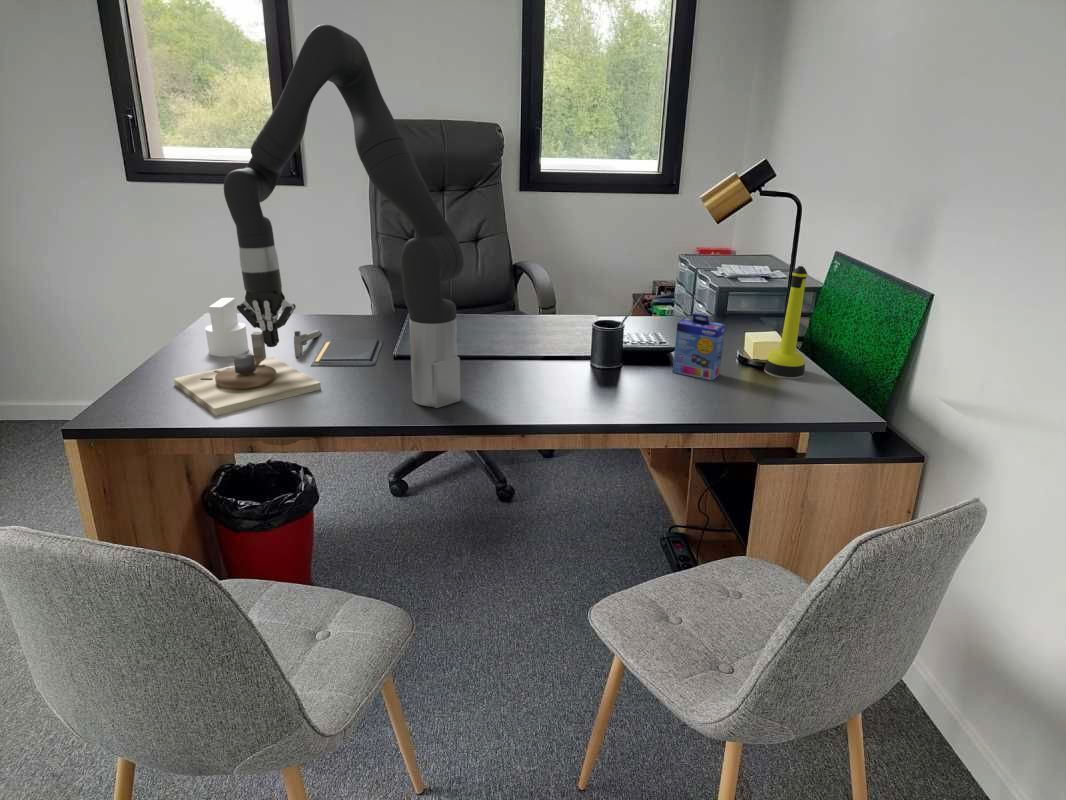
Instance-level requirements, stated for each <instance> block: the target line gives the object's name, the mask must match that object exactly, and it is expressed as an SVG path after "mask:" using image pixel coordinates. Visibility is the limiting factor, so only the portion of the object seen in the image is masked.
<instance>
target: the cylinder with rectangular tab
mask: <svg viewBox="0 0 1066 800" xmlns="http://www.w3.org/2000/svg"><path fill="white" fill-rule="evenodd" d="M208 309H209V316H210V323H211V324H210V325H207V326H205V329H204V330H205V337H206V341H207V342H206V343H207V348H208V350H207V351H208V354H209V355H211V356H213V357H223V358H224V357H235V356H237V355H241V354H246V353H247V352H249V342H248V334H247V327H246V323H243V322H240V321H239V319H238V313H237V311H238V310H237V305H236V298H235V297H221V298H220V299H218V300H217V301H216V302H214V303H212V304H211V305H210V306H208Z"/></svg>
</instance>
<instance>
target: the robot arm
mask: <svg viewBox="0 0 1066 800" xmlns="http://www.w3.org/2000/svg"><path fill="white" fill-rule="evenodd" d="M327 82H331V83H332V84H334V86H335V87H336V88H337V90H338V91H339V93H340V94H341V96H342V98H343V100H344V101H345V102H344V103H345V104H346V106H347V107H348V110H349V112H350V115H351V118H352V123H353V132H354V141H355V148H356V151H357V152H356V153H357V154H358V157H359V159H360V162H361V163H362V166H363V167H364V170H365V171H366V174H367V176H368V178H369V180H370V182H371V184H373V186H374V187H375V189H376V190H377V192H379V193H380V194H381V195H382V196H383V197H384V198H385V199H387V200H388V201H389V203H391V204H392V205H393V206H394V207H395V208H396V209H397V210H398V211H400V213H402V215H404V217H405V218H406V220H407V221H408V222H409V223H410V224H411V227H412V229H413V231H414V232H415V235H416V236H415V237H412V238H410V239H409V240H407V241H406V242H405V243H404V245H403V248H402V251H401V255H400V256H401V257H400V267H401V278H402V289H403V291H402V292H403V298H404V302H405V306H406V307H407V310H408V318H409V319H408V320H409V346H410V347H409V349H410V368H411V369H410V371H411V373H410V374H411V387H412V388H411V392H412V401H413V402H414V403H415V404H417V405H419V406H425V407H432V408H435V409H438V408H442V407H445V406H449V405H452V404H455V403H458V402H461V362H460V361H461V358H460V357H459V356H458V349H457V348H458V347H457V346H458V344H457V342H458V341H457V339H458V337H457V307H456V304H455V303H454V301H452V300H449V299H446V298H443V294H442V285H441V283H443V282H446V281H447V282H448V281H450V280H454V279H456V278H457V277H458V276H460V275H461V274H462V272H463V269H464V263H465V260H464V253H463V250H462V247H461V245H460V242H459V240H458V238H457V237H456V235H455V233H454V232H453V230H452V229H451V227H450V225H449V223H448V222H447V219H445V217H444V216H443V214H442V213H441V211H440V209H439V208H438V207H439V206H438V205H437V204H436V202H435V200H434V198H433V196H432V195H431V194H432V193H431V192H430V189H428V186H427V184H426V182H425V180H424V179H423V177H422V175H421V173H420V171H419V168H418V166H417V164H416V161H415V159H414V157H413V155H412V153H411V150H410V148H409V146H408V144H407V142H406V140H405V138H404V136H403V135H402V133H401V131H400V129H399V127H398V124H397V122H396V121H395V119H394V117H393V115H392V113H391V111H390V109H389V106H388V105H387V103H386V100H384V97H383V95H382V93H381V90H380V88H379V85H378V83H377V80H376V76H375V73H374V71H373V69H372V66H371V63H370V60H369V57H368V55H367V52H366V51H365V48H364V47H363V45H362V44H361V42H359V40H358V39H357V38H355V37H354V36H352V35H351V34H350V33H347V32H345V31H344V30H342V29H340V28H338V27H336V26H334V25H331V24H325V23H323V24H320V25H317V26H315V27H314V28H312V30H311V31H310V32H309V33H308V34H307V36H306V37H305V40H304V41H303V44H302V46H301V48H300V50H299V53H298V56H297V57H296V59H295V62H294V65H293V67H292V70H291V72H290V74H289V75H288V78H287V81H286V83H285V85H284V89H283V90H282V93H281V94H280V97H279V99H278V101H277V104H276V105H275V108H273V110H272V112H271V114H270V116H269V118H268V119H267V121H266V122H265V124H264V125H263V127H262V129H261V130H260V132H259V133H258V134H257V136H256V138H255V140H254V141H253V143H252V145H251V148H250V154H251V158H250V160H249V162H248V163H247V165H246V166H245V167H244V168H238V169H234V170H232V171H230V172H228V174H227V175H226V176H225V177H224V182H223V194H224V199H225V202H226V205H227V208H228V210H229V213H230V216H231V219H232V220H233V222H234V224H235V227H236V235H237V242H238V243H237V244H238V249H239V250H238V251H239V263H240V264H239V266H240V270H241V275H242V282H243V287H244V290H245V295H244V300H243V301H242V302H241V303H239V304H238V305H236V310H237V311H238V312H239V313H240V314H241V315H242V317H244V319H245V320H247V322H248V323H249V324H250V325H251V326H252V327H253V329H256V328H258V329H260V330H261V332H263V339H264V344H265V345H266V347H267V348H275V347H277V346H278V344H279V343H280V338H279V330H278V329H280V328H282V327H283V326H285V325H286V323H287V322H288V321H289V319H290V318H291V316H292V315H293V313H294V310H295V309H296V306H297V305H296V304H295V303H289V301H287V300H286V297H285V295H284V293H283V286H282V278H281V272H280V271H281V270H280V264H279V257H278V253H277V249H276V245H275V238H274V232H273V226H272V222H271V220H270V219H269V218H268V217H266V216H264V214H263V210H262V207H261V203H262V202H264V201H266V200H267V199H268V198H269V197H270V195H272V194H273V192H274V190H275V188H276V187H277V185H278V182H279V179H280V177H281V175H282V171H283V169H284V167H285V166H286V165H287V163H288V162H289V160H290V159H291V158H292V156H293V154H294V153H295V152H296V150H297V149H298V147H299V146H300V144H301V142H302V140H303V137H304V135H305V132H306V126H307V122H308V115H309V111H310V108H311V106H312V103H313V100H314V99H315V97H316V95H317V94H318V93H319V91H320V90H321V88H323V86H324V85H325V84H326V83H327ZM280 309H281V312H282V313H281V314H280V316H279V311H280Z"/></svg>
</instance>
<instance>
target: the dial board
mask: <svg viewBox="0 0 1066 800" xmlns="http://www.w3.org/2000/svg"><path fill="white" fill-rule="evenodd" d="M259 365H263V366H269V367H272V368H274V369H275V370H276V374H277V377H276V379H275V380H274V381H272V382H270V383H268V384H266V385H262V386H259V387H254V388H246V389H230V388H224V387H220V386H218V385H217V384H216V381H215V376H216V374H218V373H219V372H221V371H223V370H225V369H229V368H232V367H235V366H234V365H231V366H227V367H221V368H217V369H212V370H206V371H202V372H198V373H193V374H188V375H182V376H178V377H174V378H173V383H174V386H175V387H176V388H178V389H180V390H181V391H182V392H183V393H185V394H186V395H187V396H189V397H190V398H191V399H193V400H194V401H195V402H197V403H198V404H199V405H201V406H202V407H203V408H205V409H206V410H207V411H209V413H211V414H212V415H214V416H215V417H218V416H221V415H226V414H228V413H232V412H237V411H240V410H244V409H248V408H252V407H257V406H261V405H264V404H269V403H272V402H276V401H280V400H283V399H288V398H292V397H297V396H300V395H304V394H308V393H312V392H317V391H320V390H322V385H321V381H318V380H316V379H315V378H312V377H311V376H309V375H307V374H305V373H303V372H302V371H299V370H297V369H296V368H295V367H292V366H290V365H288V364H287V363H285V362H283V361H281V360H279V359H277V358H275V357H269V358H265V360H264V361H262V362H261V363H260V364H259Z"/></svg>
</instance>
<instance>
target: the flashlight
mask: <svg viewBox="0 0 1066 800" xmlns="http://www.w3.org/2000/svg"><path fill="white" fill-rule="evenodd" d="M791 275H792V278H791V283H790V284H791V285H790V290H789V296H788V301H787V307H786V311H785V312H786V313H785V317H784V323H783V329H782V333H781V334H782V335H781V339H780V340H781V341H780V346H779V349H774V350H773V349H772V351H771V352H769V355H768V356H767V358H766V361H765V365H764V368H763V369H764V370H763V371H764V372H765V373H766V374H767V375H770V376H772V377H775V378H779V379H790V380H796V379H801V378H803V377H804V376H805V370H806V369H805V367H806V361H805V358H804V355H803V354H802V353H801V352H798V351H796V350H797V344H798V336H799V329H800V323H801V316H802V315H801V314H802V310H803V309H802V307H803V301H804V296H805V289H806V288H805V287H806V281H807V277H808V272H807V269H806V268H805V267H804V266H802V265H798V266H797V267H796V268H795V269H794V270H793V271H792V274H791Z"/></svg>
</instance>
